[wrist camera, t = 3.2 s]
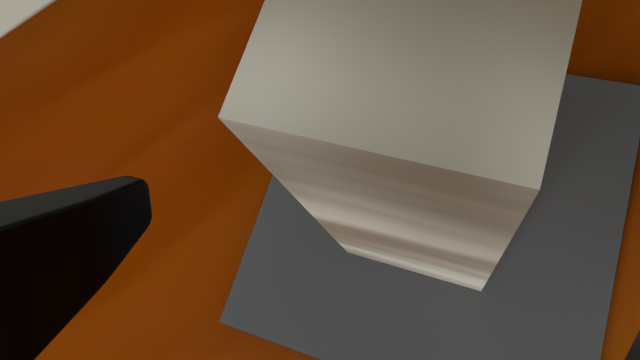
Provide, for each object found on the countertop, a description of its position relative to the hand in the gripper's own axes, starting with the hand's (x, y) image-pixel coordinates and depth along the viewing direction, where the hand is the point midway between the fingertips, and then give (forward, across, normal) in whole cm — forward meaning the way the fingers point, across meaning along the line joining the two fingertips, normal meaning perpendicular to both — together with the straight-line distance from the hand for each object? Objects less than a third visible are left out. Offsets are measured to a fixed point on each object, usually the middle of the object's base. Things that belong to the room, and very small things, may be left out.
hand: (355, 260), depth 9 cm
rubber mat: (+10, 0, +5) cm, 11 cm away
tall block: (+10, 0, +4) cm, 11 cm away
